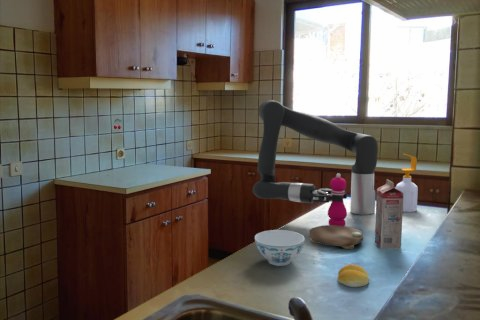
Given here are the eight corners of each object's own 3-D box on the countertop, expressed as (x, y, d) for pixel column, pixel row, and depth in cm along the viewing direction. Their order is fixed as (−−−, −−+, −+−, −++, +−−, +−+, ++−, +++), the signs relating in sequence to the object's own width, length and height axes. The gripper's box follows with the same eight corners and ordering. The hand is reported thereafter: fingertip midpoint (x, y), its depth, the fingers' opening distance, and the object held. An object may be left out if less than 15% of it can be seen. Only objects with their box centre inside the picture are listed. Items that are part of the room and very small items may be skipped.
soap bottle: (391, 207, 202) (393, 152, 199) (410, 206, 203) (413, 152, 199) (400, 212, 193) (403, 155, 190) (420, 212, 194) (423, 155, 191)
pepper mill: (345, 222, 178) (347, 171, 174) (347, 227, 170) (349, 175, 167) (326, 221, 178) (327, 171, 175) (328, 227, 171) (329, 175, 168)
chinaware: (247, 267, 135) (247, 242, 133) (263, 250, 148) (263, 227, 147) (297, 274, 129) (297, 248, 128) (309, 256, 143) (309, 232, 142)
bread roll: (337, 286, 121) (337, 272, 121) (338, 273, 130) (339, 260, 129) (369, 290, 119) (370, 275, 119) (368, 276, 128) (369, 262, 127)
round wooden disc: (340, 230, 169) (340, 220, 168) (374, 245, 153) (374, 234, 152) (299, 237, 162) (299, 227, 161) (329, 253, 145) (330, 242, 145)
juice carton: (380, 248, 150) (383, 183, 146) (374, 242, 156) (377, 179, 153) (400, 248, 150) (404, 183, 146) (393, 242, 156) (396, 179, 153)
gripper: (295, 186, 172) (339, 191, 165) (308, 180, 185) (350, 184, 177) (295, 206, 174) (339, 211, 166) (308, 198, 186) (349, 202, 178)
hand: (344, 197), depth 171 cm, fingers closed on pepper mill, 5 cm apart
